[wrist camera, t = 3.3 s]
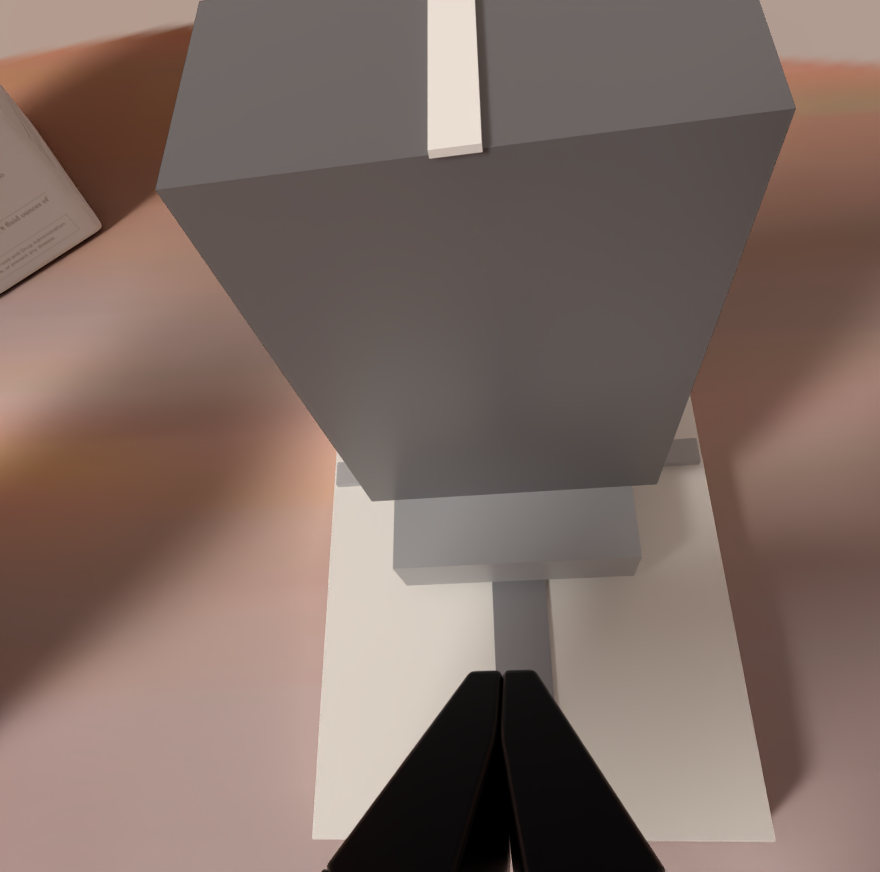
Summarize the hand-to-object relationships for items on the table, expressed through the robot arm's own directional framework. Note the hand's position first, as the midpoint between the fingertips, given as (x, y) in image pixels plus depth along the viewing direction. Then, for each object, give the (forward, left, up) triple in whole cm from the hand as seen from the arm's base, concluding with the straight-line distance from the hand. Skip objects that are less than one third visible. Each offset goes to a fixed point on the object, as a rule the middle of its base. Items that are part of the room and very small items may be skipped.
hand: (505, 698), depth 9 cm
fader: (+3, -5, -6) cm, 8 cm away
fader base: (+4, -5, -8) cm, 10 cm away
